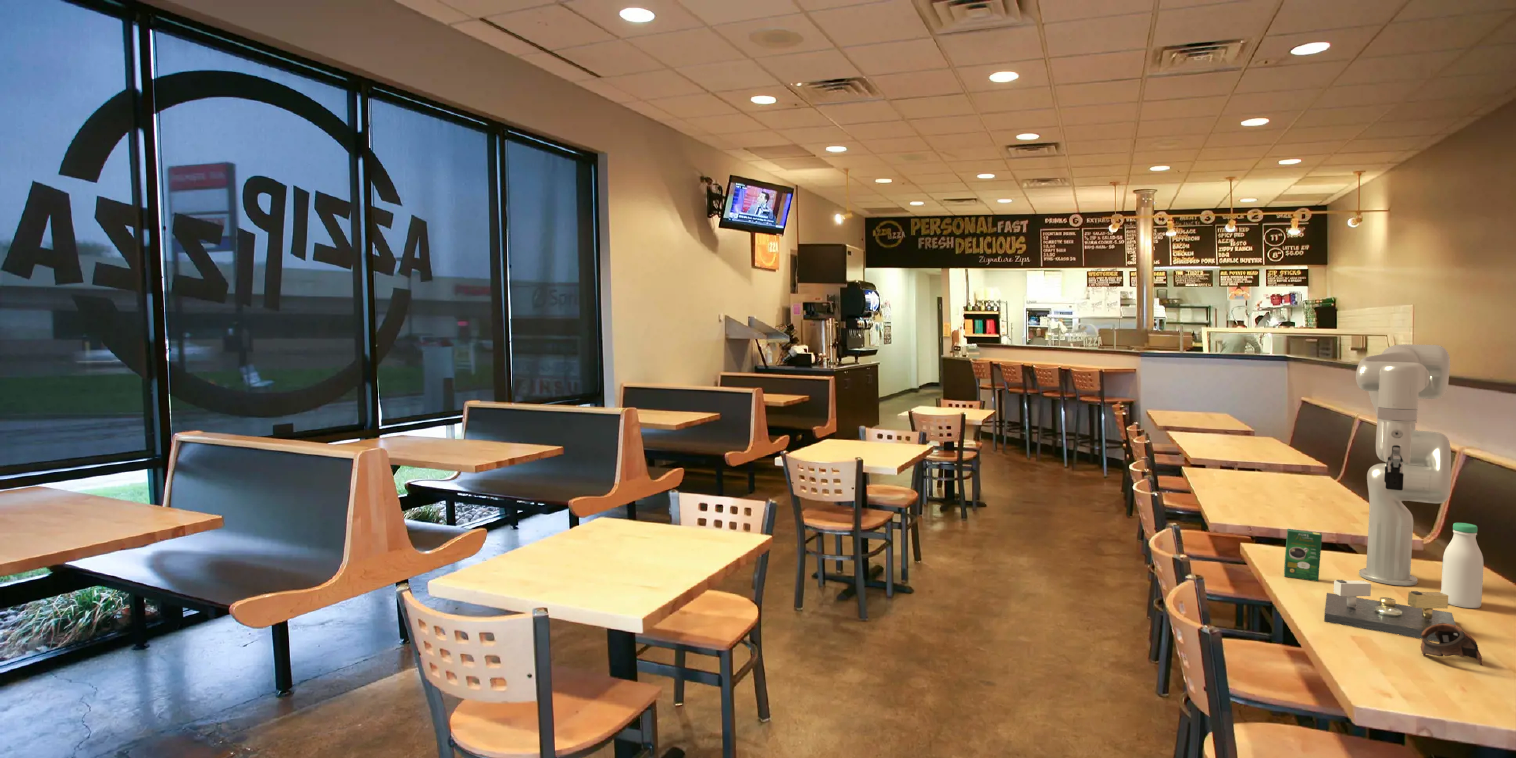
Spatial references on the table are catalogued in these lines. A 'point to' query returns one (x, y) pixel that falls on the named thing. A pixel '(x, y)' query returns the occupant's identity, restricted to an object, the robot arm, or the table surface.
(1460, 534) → the milk bottle
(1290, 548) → the coffee box
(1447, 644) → the brown curved hollow piece
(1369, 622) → the levelling plate
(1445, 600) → the wooden bar knob
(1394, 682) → the table surface
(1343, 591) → the white t-shaped handle
